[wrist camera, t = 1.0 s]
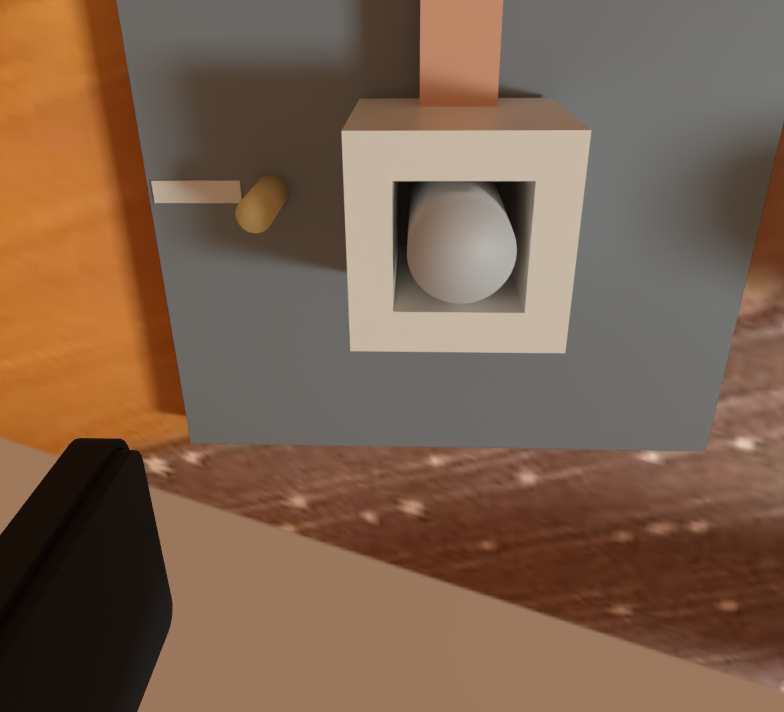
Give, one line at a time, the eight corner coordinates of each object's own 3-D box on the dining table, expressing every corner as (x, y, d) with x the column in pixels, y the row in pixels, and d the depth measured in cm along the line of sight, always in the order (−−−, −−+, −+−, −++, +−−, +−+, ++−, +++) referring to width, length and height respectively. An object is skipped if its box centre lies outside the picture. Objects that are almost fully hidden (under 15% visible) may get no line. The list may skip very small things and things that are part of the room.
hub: (536, 279, 26) (565, 353, 21) (364, 278, 27) (350, 351, 21) (568, -72, 21) (617, -92, 16) (354, -69, 21) (332, -88, 16)
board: (689, 425, 32) (774, 563, 24) (203, 418, 32) (136, 550, 25) (823, -185, 22) (1044, -280, 14) (111, -172, 22) (-50, -254, 15)
